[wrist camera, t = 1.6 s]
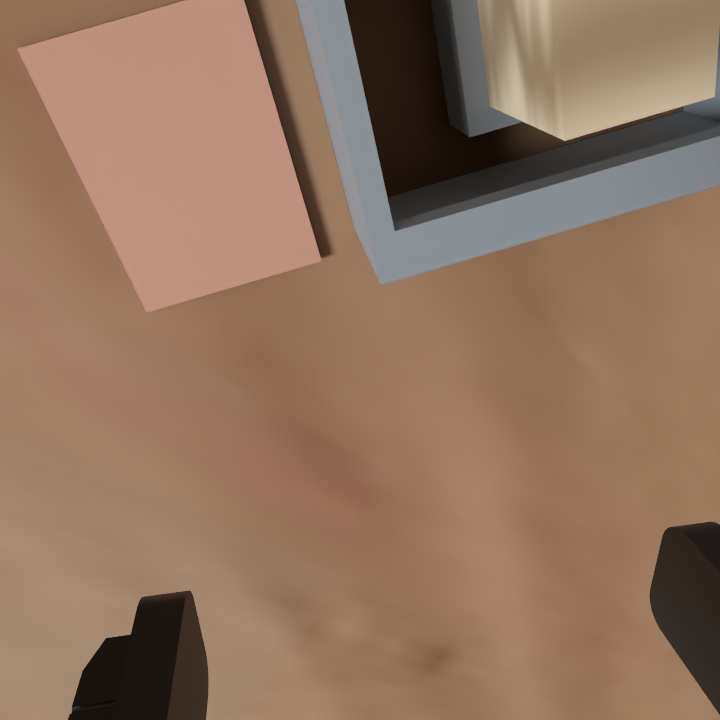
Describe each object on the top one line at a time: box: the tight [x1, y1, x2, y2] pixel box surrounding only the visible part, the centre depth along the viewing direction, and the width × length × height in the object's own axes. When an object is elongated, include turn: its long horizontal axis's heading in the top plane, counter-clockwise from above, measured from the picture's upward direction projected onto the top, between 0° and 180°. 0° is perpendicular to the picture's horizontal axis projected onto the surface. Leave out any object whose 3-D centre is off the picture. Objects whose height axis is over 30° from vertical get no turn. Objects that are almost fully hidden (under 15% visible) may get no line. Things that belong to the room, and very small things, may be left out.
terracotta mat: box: [17, 0, 322, 312], centre depth 27 cm, size 12×9×1 cm
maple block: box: [477, 0, 720, 141], centre depth 21 cm, size 5×5×7 cm
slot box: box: [296, 0, 720, 285], centre depth 24 cm, size 14×18×7 cm
